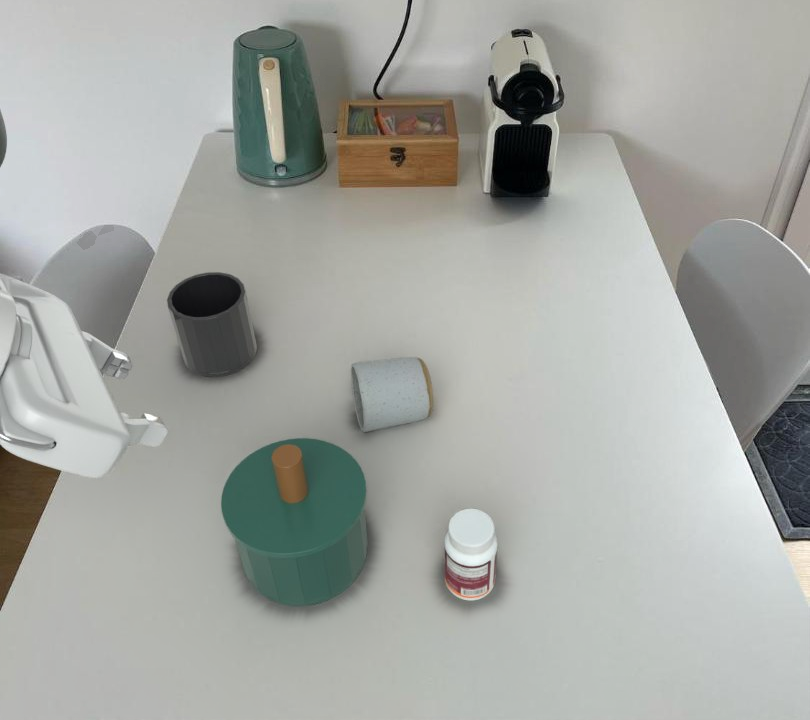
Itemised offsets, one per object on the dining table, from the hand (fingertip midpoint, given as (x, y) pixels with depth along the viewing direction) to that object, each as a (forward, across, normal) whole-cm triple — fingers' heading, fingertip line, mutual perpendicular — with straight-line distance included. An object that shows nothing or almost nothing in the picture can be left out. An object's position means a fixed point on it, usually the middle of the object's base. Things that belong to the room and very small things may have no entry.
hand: (143, 398), depth 64 cm
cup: (+23, +29, +5) cm, 38 cm away
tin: (+22, -3, +10) cm, 24 cm away
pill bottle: (+31, -14, +2) cm, 34 cm away
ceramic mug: (+33, +10, -3) cm, 35 cm away
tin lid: (+16, -4, +4) cm, 17 cm away
